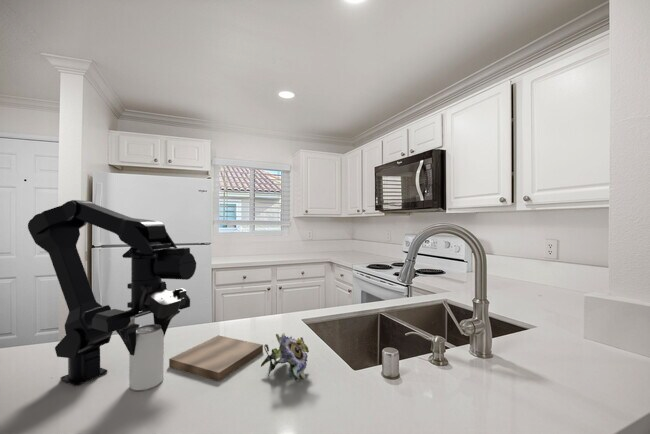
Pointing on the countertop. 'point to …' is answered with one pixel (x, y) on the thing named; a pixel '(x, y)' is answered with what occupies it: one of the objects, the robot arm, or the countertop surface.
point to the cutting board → (216, 357)
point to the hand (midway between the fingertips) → (146, 349)
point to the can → (147, 358)
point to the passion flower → (289, 355)
